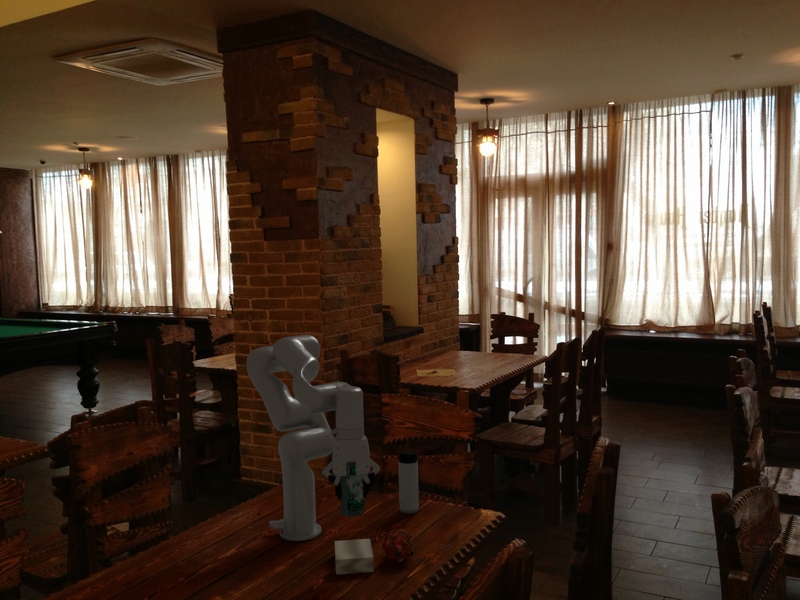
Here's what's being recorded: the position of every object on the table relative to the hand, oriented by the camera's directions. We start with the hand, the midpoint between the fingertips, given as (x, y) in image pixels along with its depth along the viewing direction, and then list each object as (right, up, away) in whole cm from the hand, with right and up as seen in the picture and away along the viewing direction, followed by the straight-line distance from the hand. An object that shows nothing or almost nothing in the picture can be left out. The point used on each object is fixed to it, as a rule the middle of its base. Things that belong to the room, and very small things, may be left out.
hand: (352, 496), depth 190 cm
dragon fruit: (+13, -19, +3) cm, 23 cm away
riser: (0, -19, +2) cm, 19 cm away
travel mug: (+16, -16, +39) cm, 45 cm away
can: (0, -5, 0) cm, 5 cm away
